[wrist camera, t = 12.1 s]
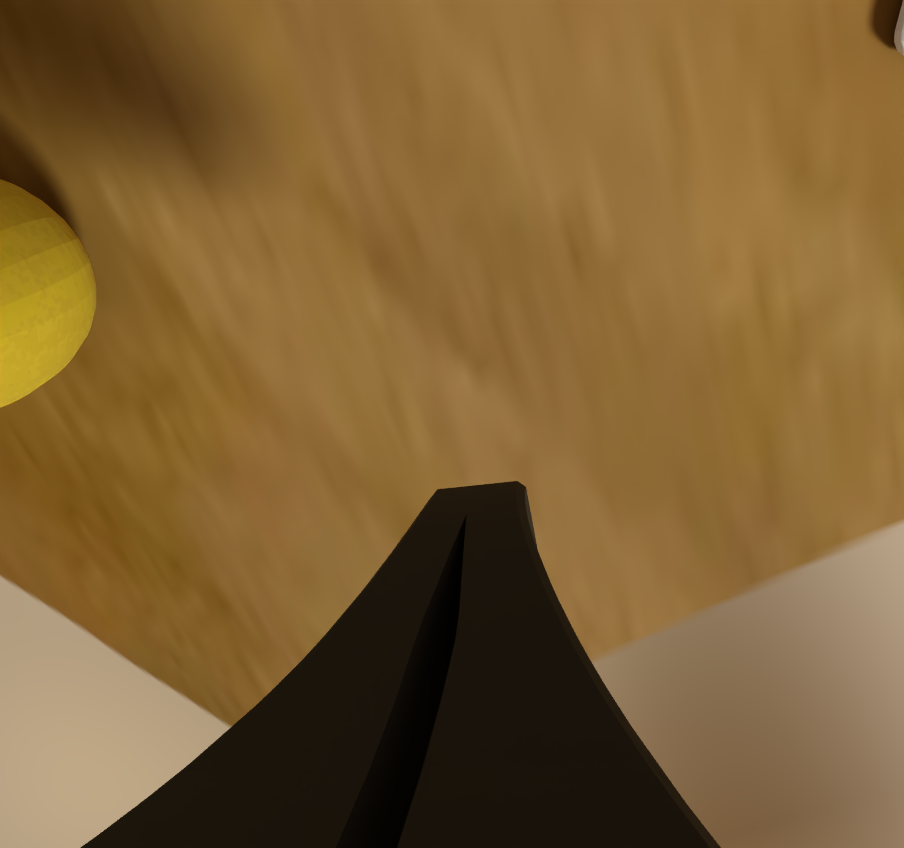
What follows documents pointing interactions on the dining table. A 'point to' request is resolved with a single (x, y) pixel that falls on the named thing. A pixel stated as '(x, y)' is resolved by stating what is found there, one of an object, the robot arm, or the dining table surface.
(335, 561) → the dining table surface
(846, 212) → the dining table surface
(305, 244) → the dining table surface
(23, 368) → the lemon
